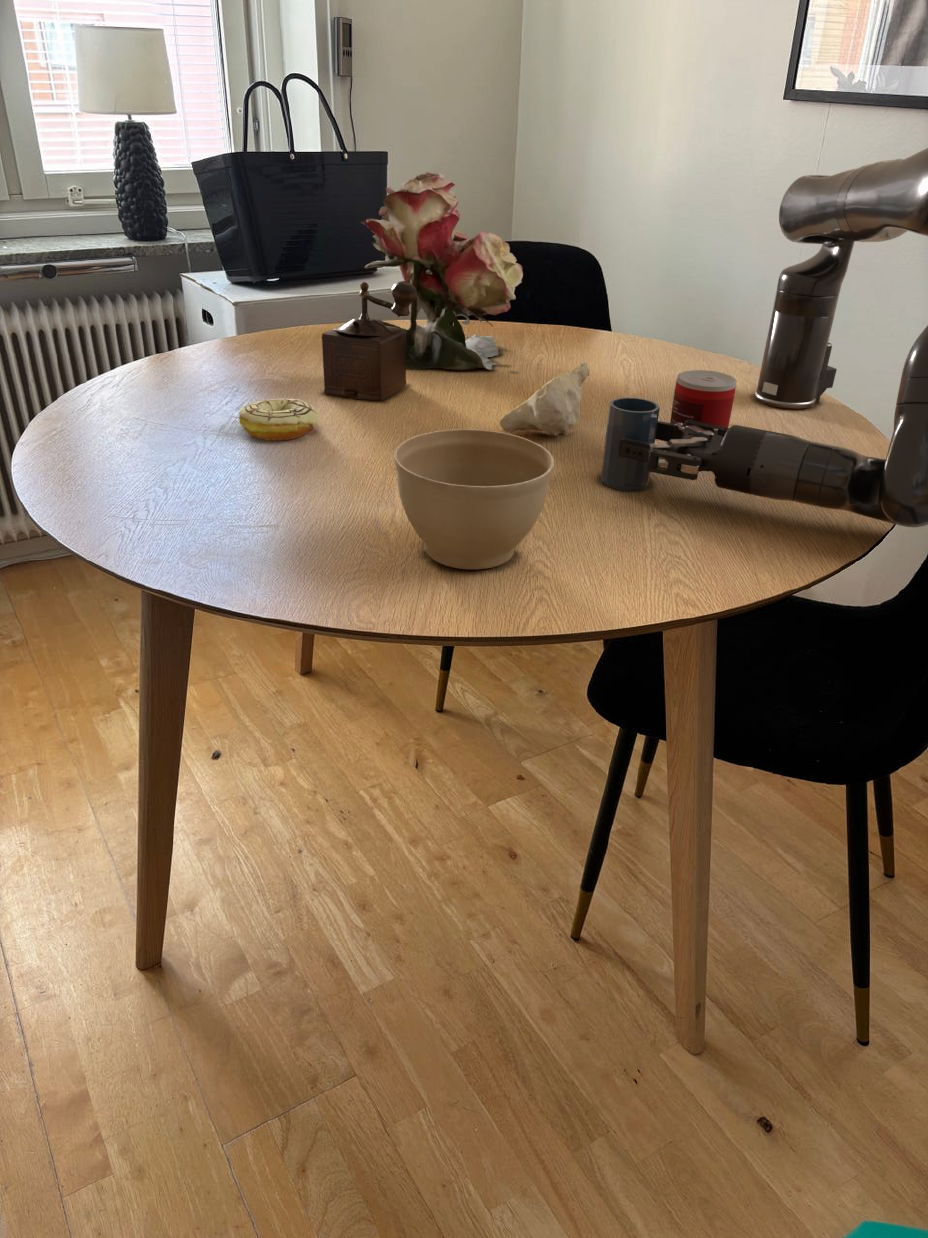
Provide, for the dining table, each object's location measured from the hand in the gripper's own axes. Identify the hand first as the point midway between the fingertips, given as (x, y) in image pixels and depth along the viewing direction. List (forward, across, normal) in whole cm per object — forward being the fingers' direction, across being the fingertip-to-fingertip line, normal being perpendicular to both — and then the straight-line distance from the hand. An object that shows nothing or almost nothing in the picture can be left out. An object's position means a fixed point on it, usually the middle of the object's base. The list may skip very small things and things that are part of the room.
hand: (632, 436), depth 112 cm
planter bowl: (+7, +28, +6) cm, 30 cm away
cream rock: (+18, -14, +6) cm, 24 cm away
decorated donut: (+48, +10, +6) cm, 50 cm away
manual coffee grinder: (+48, -14, +6) cm, 50 cm away
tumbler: (0, 0, +6) cm, 6 cm away
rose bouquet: (+53, -41, +6) cm, 67 cm away
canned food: (-4, -14, +6) cm, 16 cm away
